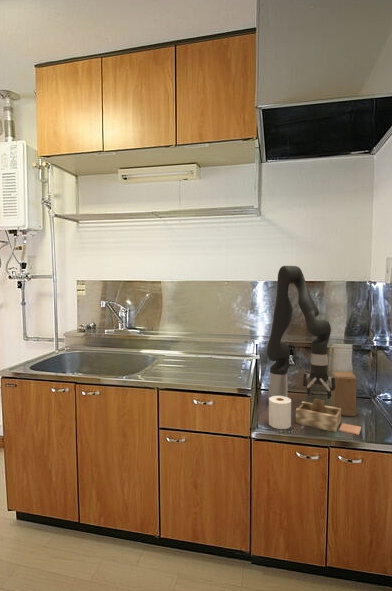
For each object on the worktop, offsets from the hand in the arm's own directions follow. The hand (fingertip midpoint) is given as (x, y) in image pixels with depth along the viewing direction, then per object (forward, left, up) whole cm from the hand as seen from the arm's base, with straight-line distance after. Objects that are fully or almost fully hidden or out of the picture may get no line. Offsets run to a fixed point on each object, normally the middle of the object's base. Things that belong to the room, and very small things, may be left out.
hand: (318, 396), depth 163 cm
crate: (0, 0, -13) cm, 13 cm away
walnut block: (0, 0, -10) cm, 10 cm away
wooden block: (+8, +19, -13) cm, 24 cm away
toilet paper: (-15, -11, -13) cm, 23 cm away
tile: (+14, 0, -13) cm, 19 cm away
